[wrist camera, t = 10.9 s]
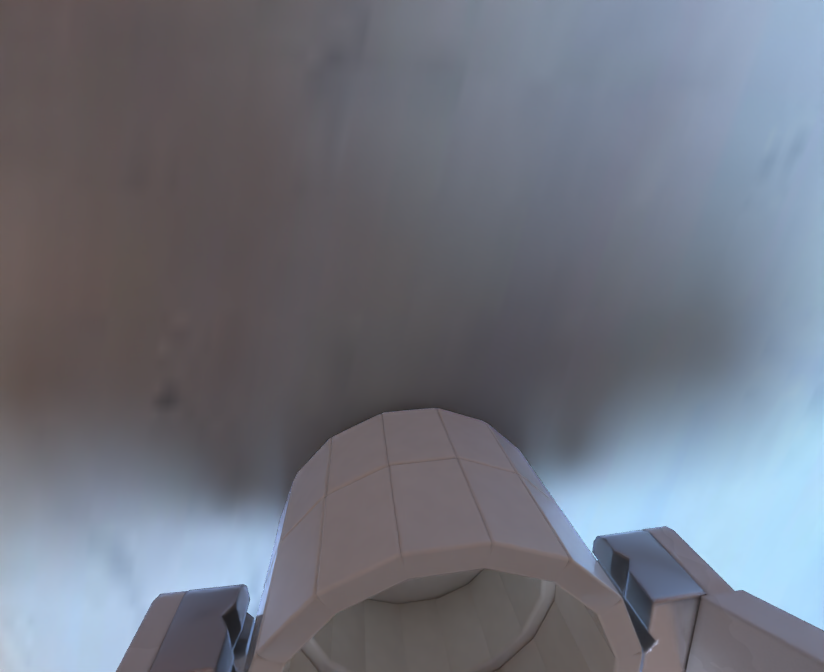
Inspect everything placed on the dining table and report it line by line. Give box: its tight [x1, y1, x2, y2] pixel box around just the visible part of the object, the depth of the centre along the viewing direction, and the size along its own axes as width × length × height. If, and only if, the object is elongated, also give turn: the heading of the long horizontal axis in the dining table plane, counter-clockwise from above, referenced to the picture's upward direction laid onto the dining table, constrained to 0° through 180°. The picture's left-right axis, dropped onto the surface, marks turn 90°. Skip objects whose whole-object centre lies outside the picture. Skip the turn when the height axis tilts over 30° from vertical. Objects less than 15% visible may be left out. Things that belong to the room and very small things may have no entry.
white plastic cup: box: [243, 408, 642, 672], centre depth 8 cm, size 6×6×4 cm
